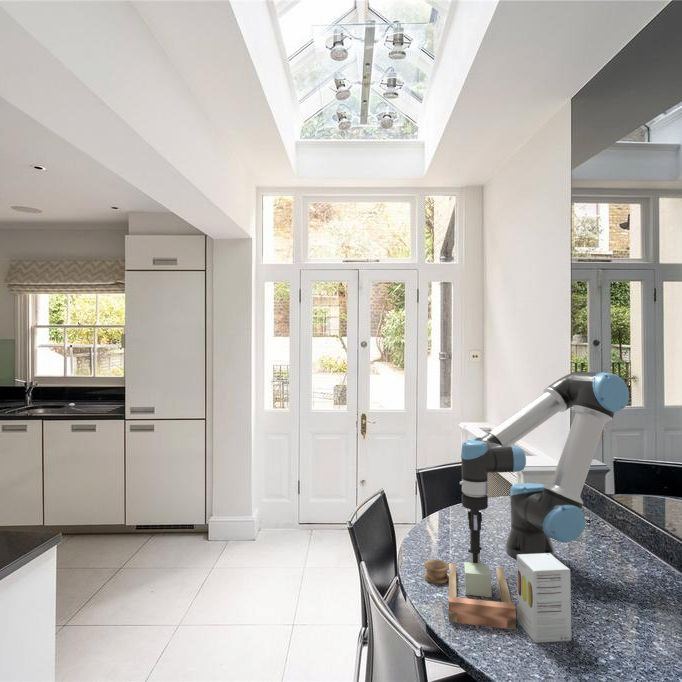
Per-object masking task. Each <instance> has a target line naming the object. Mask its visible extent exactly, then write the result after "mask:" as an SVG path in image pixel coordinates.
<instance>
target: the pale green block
mask: <svg viewBox="0 0 682 682" xmlns="http://www.w3.org/2000/svg"><path fill="white" fill-rule="evenodd" d="M463 566H464V568H463V569H464V571H463V574H464V591H465V595H467V596H476V597H477V596H478V597H485V598H486V597H487V598H492V595H493V594H492V572H491V568H490V567H491V566H490V564H489V563H481V562H480V563H470V562H468V561H467V562H466V561H464V563H463Z"/></svg>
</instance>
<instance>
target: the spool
mask: <svg viewBox="0 0 682 682" xmlns="http://www.w3.org/2000/svg"><path fill="white" fill-rule="evenodd" d="M423 565H424V569H426V572H425V573H424V580H426V581H427V582H429V583H432V584H435V585H436V584H438V585H439V584H440V585H441V584H446V583H447V582H448V583H449V574H448V571H449V563H447V561H445V560H441V559H434V558H433V559H428V560H426V561H424V564H423Z"/></svg>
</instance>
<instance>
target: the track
mask: <svg viewBox="0 0 682 682" xmlns="http://www.w3.org/2000/svg"><path fill="white" fill-rule="evenodd" d="M456 564H457V563H448V565H449V569H448V576H449V580H448V622H450V623H456V624H463V625H466V624H467V625H473V626H483V627H490V628H500V629H506V630H507V629H509V630H517V625H516V624H517V622H516V621H517V619H516V618H517V615H516V614H517V612H516V610H517V609H516V605H515V603H512V598H511V594H510V590H509V587H508V583H507V578H506V574H505V569H504V567H496V569H495V571H496V574H495V575H496V581H497V586H498V590H499V596H500V600H501V601H493V600H485V599H484V600H483V599H475V598H467V597H466V598H465V597H464V598H463V597H457V569H456V568H457V567H456V566H457V565H456Z"/></svg>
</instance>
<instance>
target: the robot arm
mask: <svg viewBox="0 0 682 682" xmlns="http://www.w3.org/2000/svg"><path fill="white" fill-rule="evenodd" d="M629 396H630V393H629V388H628V386H627V385H626V382H625V381H624V379H622V378H621V377H620V376H619V375H617V374H616V373H615V374H614V373H610V372H605V371H601V372H596V371H581V370H580V371H575V372H571V373H569V374H567V375H566V374H565V375H564V376H562V377H561V378H559V379H557V380H556V381H554V382H552V383H551V384H550V385H548V386H547V387H546V388H544V389H543V393H542V394H541V395H540V396H538V397H537V398H536V399H534V400H533V401H531V402H530V403H529V404H527V405H526V406H524V407H523V408H522V409H520V410H519V411H517V412H516V413H514V414H513V415H512V416H510V417H509V418H507V420H505V421H504V422H502V423H501V424H499V425H497V427H495V428H493V429H492V430H490V431H489V432H488V433H487V434H485V435H484V436H482V437H480V436H479V437H477V436H476V437H473V438H471V439H470V440H465V441H463V442H462V444H461V454H460V455H461V456H460V458H461V481H459V485H461V493H462V494H461V505H462V507H463V508H464V509H467V520H468V529H469V530H470V531H469V533H470V534H469V537H470V539H469V540H470V541H469V544H470V546H469V548H470V549H468V550H467V552H468V553H469V561H470V563H481V551H482V547H481V531H482V521H483V515H482V511H485V510H487V509H488V507H489V501H488V499H489V495H488V493H489V479H488V476H489V474H495V473H496V474H497V473H498V474H500V473H515V472H516V473H517V472H521V471H523V470H524V469H525V468H526V465H527V458H526V454H525V451H524V450H523V448H521V447H519V446H514V444H516V443H518V442H519V441H520V440H522V439H523V438H524V437H526V436H527V435H528V434H531V432H532V431H535V429H537V428H539V427H540V426H541V425H542V424H544V423H545V422H547V421H548V420H549V419H551V418H552V417H553V416H555V415H556V414H558V413H559V412H560V413H564V412H566V411H567V410H568V409H570V408H572V409H573V411H574V412H575V415H574V418H573V421H572V423H571V426H570V429H569V431H568V434H567V437H566V441H565V444H564V445H563V448H562V452H561V455H560V457H559V460H558V463H557V466H556V468H555V472H554V474H553V478H552V479H551V483H549V484H548V485H545V484H542V483H534V482H533V483H531V482H526V483H525V482H523V483H514V484H513V485H511V486H510V492H509V493H510V495H509V497H510V498H509V499H510V531H509V533H508V537H507V540H506V542H505V551H506V553H507V554H508V555H509V556H510V557H512V558H514V559H516V560H517V555H518V554H540V553H551V554H552V555H553V556H554V557H555V548H554V546H553V545H554V544H553V543H552V540H554V541H557V542H559V543H566V544H567V543H571V542H573V541H576V540H577V539H578V538H580V537H581V535H582V534H583V533H584V531H585V529H586V524H587V520H586V518H585V517H586V515H585V514H584V512H583V511H582V509H583V506H584V501H583V499H582V498H581V497H582V496H581V494H582V491H583V488H584V486H585V483H586V479H587V477H588V473H589V471H590V468H591V466H592V462H593V460H594V456H595V455H596V450H597V448H598V445H599V442H600V440H601V436H602V433H603V430H604V427H605V424H606V423H607V422H610V421H613V419H614V416H615V413H617V412H620V411H621V410H623V409H625V407H626V406H627V405H628V402H629V398H630V397H629Z"/></svg>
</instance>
